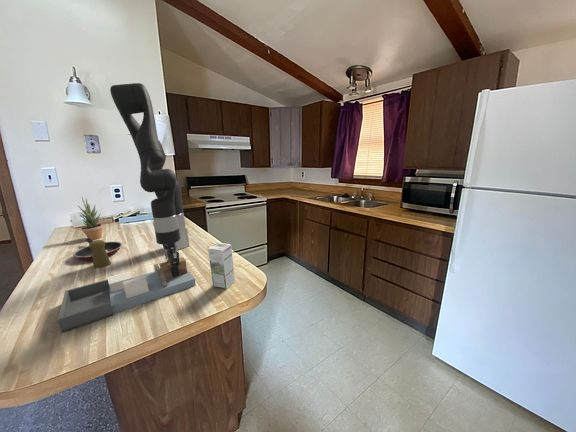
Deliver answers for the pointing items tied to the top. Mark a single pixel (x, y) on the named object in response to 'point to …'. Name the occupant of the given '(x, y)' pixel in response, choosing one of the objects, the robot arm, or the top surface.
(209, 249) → the syrup box
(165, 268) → the scraper
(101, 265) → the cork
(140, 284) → the tile
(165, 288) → the board
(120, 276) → the tile
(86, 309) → the tray
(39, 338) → the top surface
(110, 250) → the frying pan
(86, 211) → the potted plant
